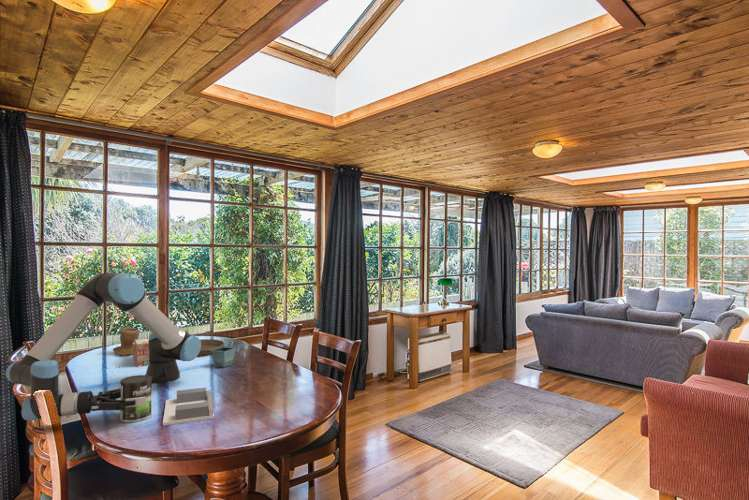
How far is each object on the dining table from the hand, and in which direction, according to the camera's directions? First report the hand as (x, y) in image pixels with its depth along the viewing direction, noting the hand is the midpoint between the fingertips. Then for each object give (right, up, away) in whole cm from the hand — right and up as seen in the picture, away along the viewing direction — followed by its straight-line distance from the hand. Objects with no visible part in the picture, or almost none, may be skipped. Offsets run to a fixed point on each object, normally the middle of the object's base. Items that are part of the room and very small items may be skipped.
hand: (147, 395), depth 161 cm
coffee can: (-4, -8, -2) cm, 9 cm away
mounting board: (+13, -8, +6) cm, 16 cm away
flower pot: (+5, -7, +67) cm, 68 cm away
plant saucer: (-22, -7, +98) cm, 101 cm away
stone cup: (-61, -7, +92) cm, 111 cm away
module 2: (+17, -7, -2) cm, 19 cm away
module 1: (+10, -7, +14) cm, 19 cm away
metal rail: (+20, -7, +9) cm, 23 cm away
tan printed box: (-43, -7, +75) cm, 87 cm away
